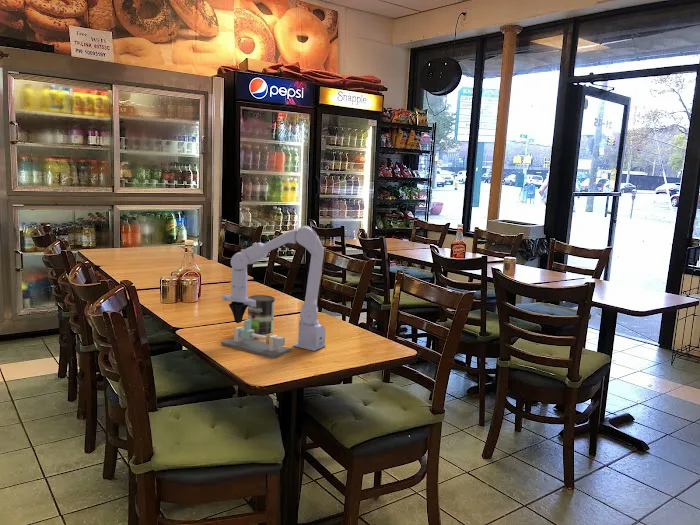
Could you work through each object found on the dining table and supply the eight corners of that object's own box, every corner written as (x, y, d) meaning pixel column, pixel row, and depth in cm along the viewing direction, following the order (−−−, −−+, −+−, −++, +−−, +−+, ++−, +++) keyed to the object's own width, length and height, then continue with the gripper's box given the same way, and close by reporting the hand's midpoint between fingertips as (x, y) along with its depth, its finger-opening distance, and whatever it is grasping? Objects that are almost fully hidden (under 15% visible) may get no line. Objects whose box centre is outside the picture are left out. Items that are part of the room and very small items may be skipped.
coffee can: (263, 338, 212) (264, 302, 210) (241, 333, 217) (242, 298, 215) (278, 332, 221) (280, 297, 219) (257, 327, 226) (258, 293, 224)
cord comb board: (291, 351, 198) (291, 333, 197) (273, 358, 190) (274, 339, 189) (239, 338, 210) (240, 321, 209) (220, 344, 202) (221, 327, 201)
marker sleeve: (254, 337, 202) (254, 320, 201) (248, 339, 199) (249, 321, 198) (245, 335, 204) (246, 318, 203) (240, 337, 201) (240, 319, 200)
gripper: (216, 284, 201) (215, 321, 203) (247, 290, 194) (246, 328, 196) (229, 281, 207) (229, 317, 209) (260, 287, 200) (259, 324, 202)
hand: (238, 322), depth 203 cm, fingers closed
